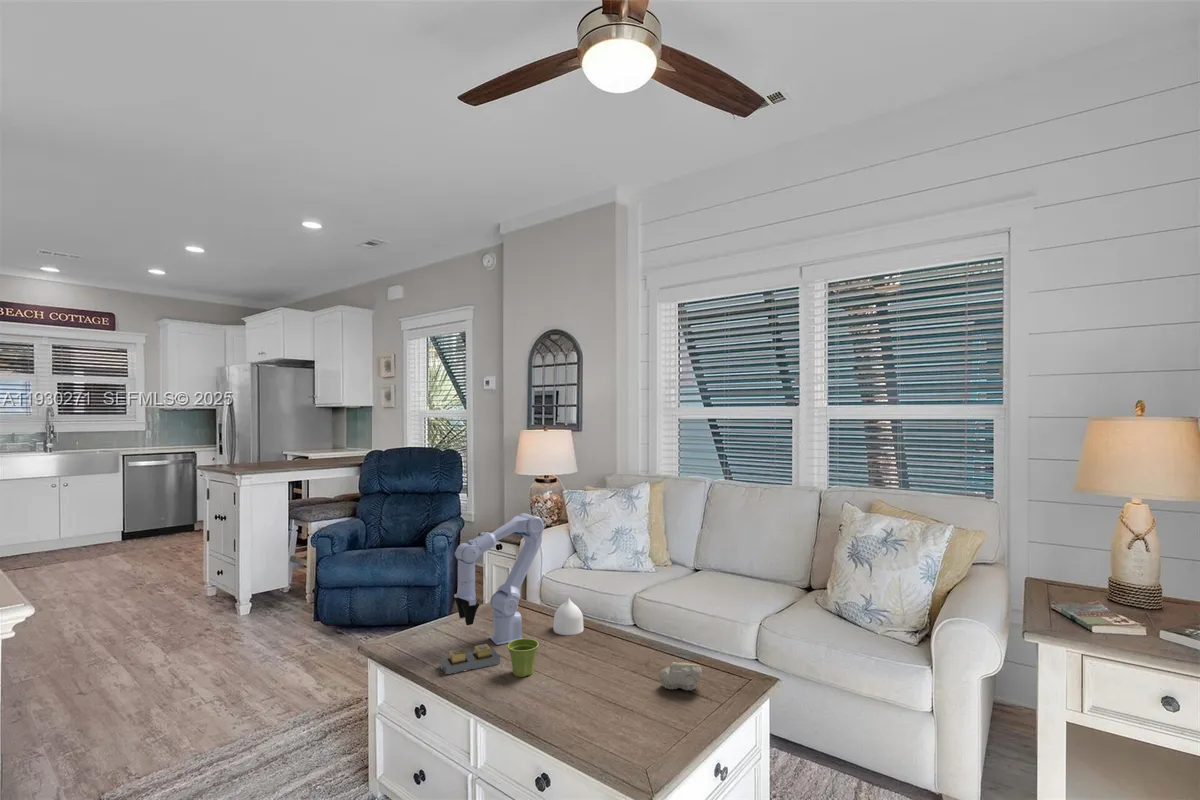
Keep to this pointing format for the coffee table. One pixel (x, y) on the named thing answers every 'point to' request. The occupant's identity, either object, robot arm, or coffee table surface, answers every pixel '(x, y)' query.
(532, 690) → the coffee table surface
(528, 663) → the plant pot
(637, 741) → the coffee table surface
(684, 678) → the fossil replica
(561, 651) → the coffee table surface
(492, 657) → the grey slotted tray
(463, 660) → the gold square block
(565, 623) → the teardrop
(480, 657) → the tan square frame
